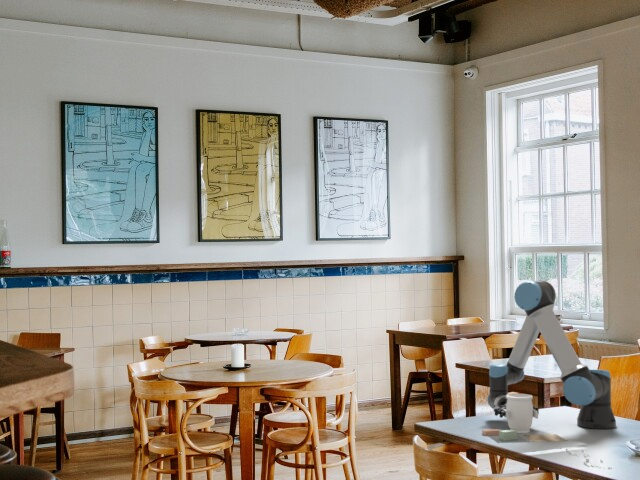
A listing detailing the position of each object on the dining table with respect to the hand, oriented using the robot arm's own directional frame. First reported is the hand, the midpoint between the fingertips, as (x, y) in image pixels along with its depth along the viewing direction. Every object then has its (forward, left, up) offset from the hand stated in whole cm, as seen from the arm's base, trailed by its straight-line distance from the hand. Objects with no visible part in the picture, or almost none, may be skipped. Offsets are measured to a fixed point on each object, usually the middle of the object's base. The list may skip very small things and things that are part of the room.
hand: (523, 415), depth 317 cm
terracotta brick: (+13, +1, -8) cm, 15 cm away
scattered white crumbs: (-9, +40, -9) cm, 42 cm away
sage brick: (+9, +10, -7) cm, 15 cm away
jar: (0, -4, -8) cm, 9 cm away
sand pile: (-5, +10, -8) cm, 14 cm away
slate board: (+9, +10, -8) cm, 16 cm away
